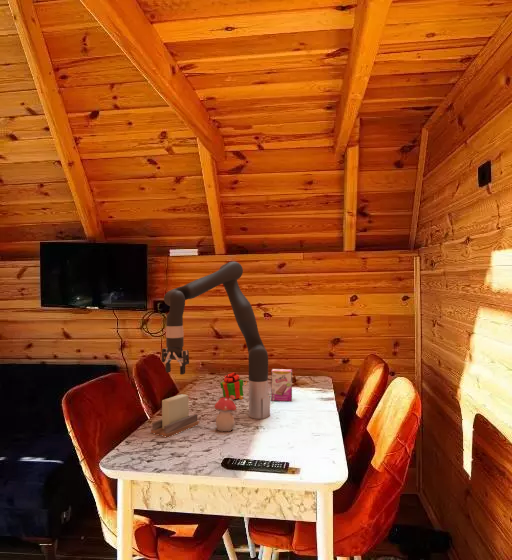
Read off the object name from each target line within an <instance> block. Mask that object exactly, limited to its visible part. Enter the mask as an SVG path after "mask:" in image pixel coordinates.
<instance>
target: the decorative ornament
mask: <svg viewBox="0 0 512 560" xmlns="http://www.w3.org/2000/svg"><path fill="white" fill-rule="evenodd" d="M220 398H221V399H220ZM220 398H219V399H218V400H217V402H215V405H214V410H217V411H219V413H218V414H217V416H216V419H215V425H216V429H218V431H219V430H220V431H219V432H223V431H228V432H231V430H232V431H233V428H234V426H235V419H234V416H233V414H232V412H235V411H236V410H237V406H236V404H235V400H236V399H235V396H234V395H230V398H227V397H224V396H223V397H220Z"/></svg>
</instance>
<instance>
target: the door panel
mask: <svg viewBox="0 0 512 560" xmlns="http://www.w3.org/2000/svg"><path fill="white" fill-rule="evenodd" d="M189 399H190V398H189V395H188V394H186V393H185V394H183V393H181V394H177V395H175V396H171V397H169V398H165V399H162V400H161V419H162V429H164V426H165V425H168V424H171V423H173V422H176V421H178V420H181V419H183V418H186V417H188V416H190V413H189V405H190V404H189V403H190V402H189Z"/></svg>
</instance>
